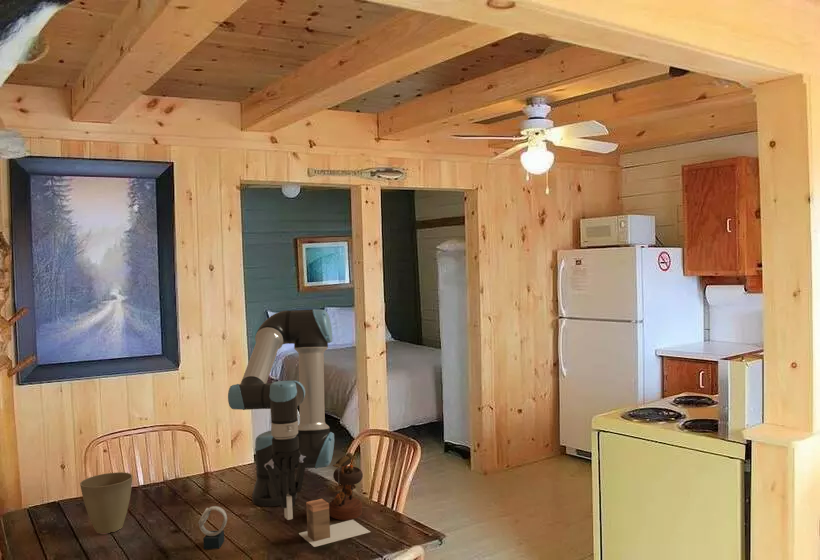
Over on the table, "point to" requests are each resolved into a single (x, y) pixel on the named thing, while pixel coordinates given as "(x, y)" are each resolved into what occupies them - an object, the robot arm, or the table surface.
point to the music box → (346, 490)
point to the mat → (338, 532)
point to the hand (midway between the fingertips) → (288, 517)
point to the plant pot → (107, 500)
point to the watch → (212, 537)
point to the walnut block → (318, 519)
